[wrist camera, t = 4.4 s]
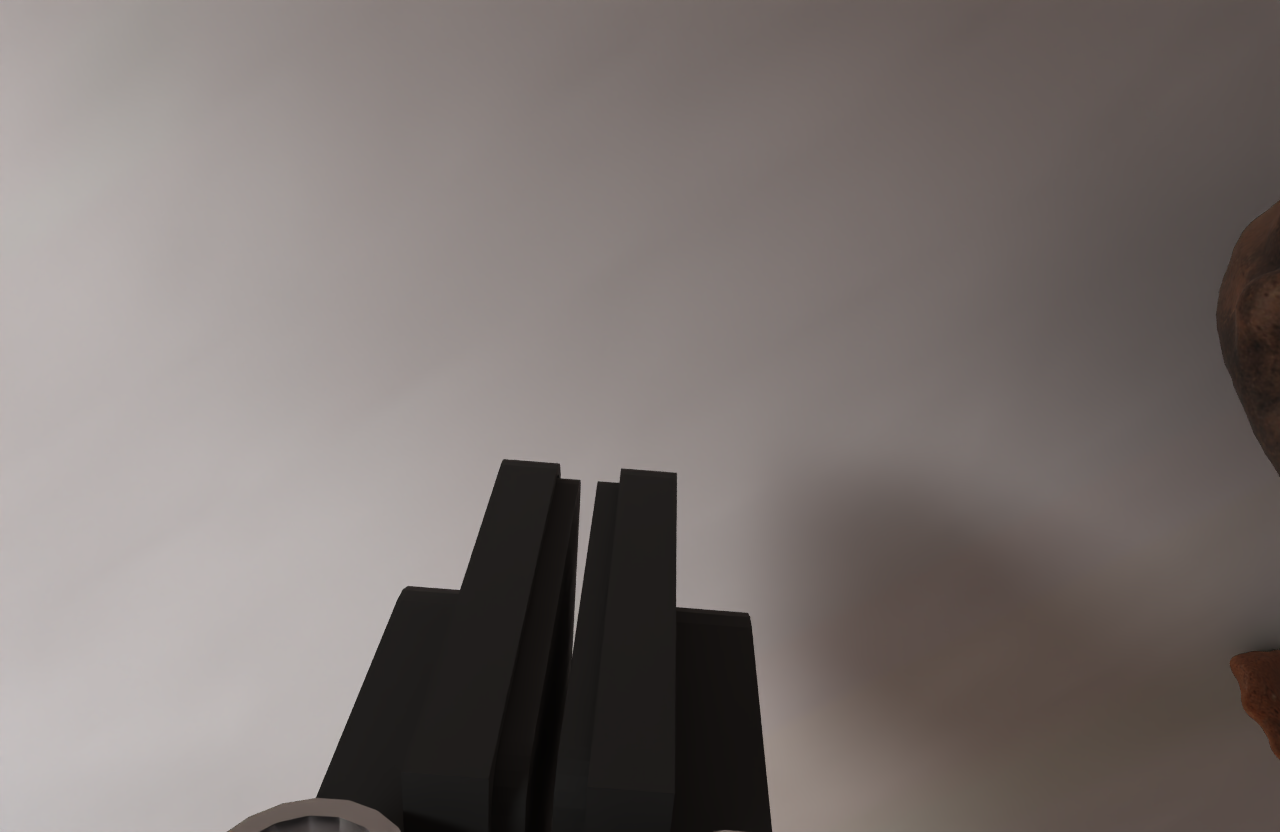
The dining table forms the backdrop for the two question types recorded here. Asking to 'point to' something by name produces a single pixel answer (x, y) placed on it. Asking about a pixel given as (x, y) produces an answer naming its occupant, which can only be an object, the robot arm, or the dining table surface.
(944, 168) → the dining table surface
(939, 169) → the dining table surface
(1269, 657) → the pottery mug
